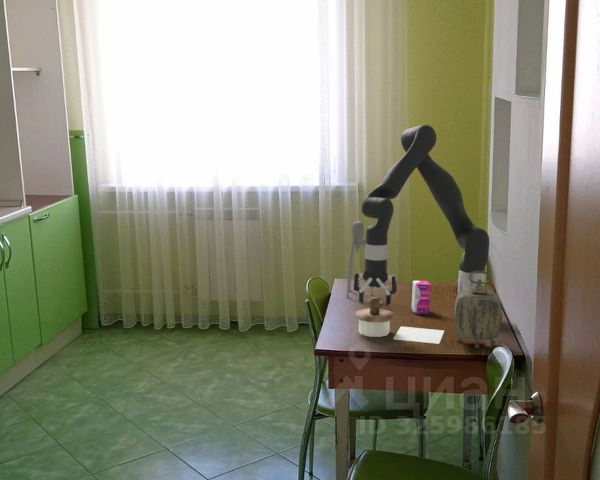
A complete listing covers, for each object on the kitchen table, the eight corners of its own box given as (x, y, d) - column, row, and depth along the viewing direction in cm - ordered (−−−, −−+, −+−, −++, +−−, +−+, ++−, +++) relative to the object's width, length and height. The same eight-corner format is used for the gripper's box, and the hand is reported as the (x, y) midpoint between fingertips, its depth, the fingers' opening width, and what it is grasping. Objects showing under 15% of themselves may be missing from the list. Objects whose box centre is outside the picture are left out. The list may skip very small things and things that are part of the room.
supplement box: (413, 314, 284) (415, 284, 282) (411, 309, 290) (412, 280, 288) (429, 314, 284) (430, 284, 282) (426, 309, 290) (427, 280, 288)
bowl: (391, 331, 263) (391, 314, 262) (385, 339, 254) (386, 322, 253) (362, 328, 266) (363, 311, 265) (356, 336, 257) (356, 319, 256)
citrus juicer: (348, 290, 318) (350, 218, 312) (373, 291, 317) (375, 219, 311) (346, 297, 307) (348, 223, 301) (371, 298, 305) (373, 224, 300)
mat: (444, 332, 263) (444, 330, 262) (439, 345, 248) (439, 343, 248) (400, 328, 267) (400, 326, 267) (393, 340, 253) (393, 339, 253)
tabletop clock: (497, 343, 251) (502, 269, 246) (500, 352, 242) (505, 275, 237) (452, 341, 253) (456, 267, 248) (453, 350, 244) (457, 273, 240)
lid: (397, 313, 263) (397, 294, 262) (390, 323, 251) (390, 304, 250) (359, 310, 267) (360, 291, 266) (351, 320, 255) (351, 301, 253)
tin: (459, 303, 300) (460, 282, 298) (451, 302, 301) (452, 281, 300) (472, 295, 312) (473, 275, 311) (464, 294, 314) (465, 274, 312)
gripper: (399, 256, 257) (397, 303, 260) (357, 253, 261) (356, 299, 264) (395, 260, 250) (393, 309, 253) (352, 257, 254) (351, 305, 257)
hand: (374, 304), depth 258 cm, fingers open, 8 cm apart
